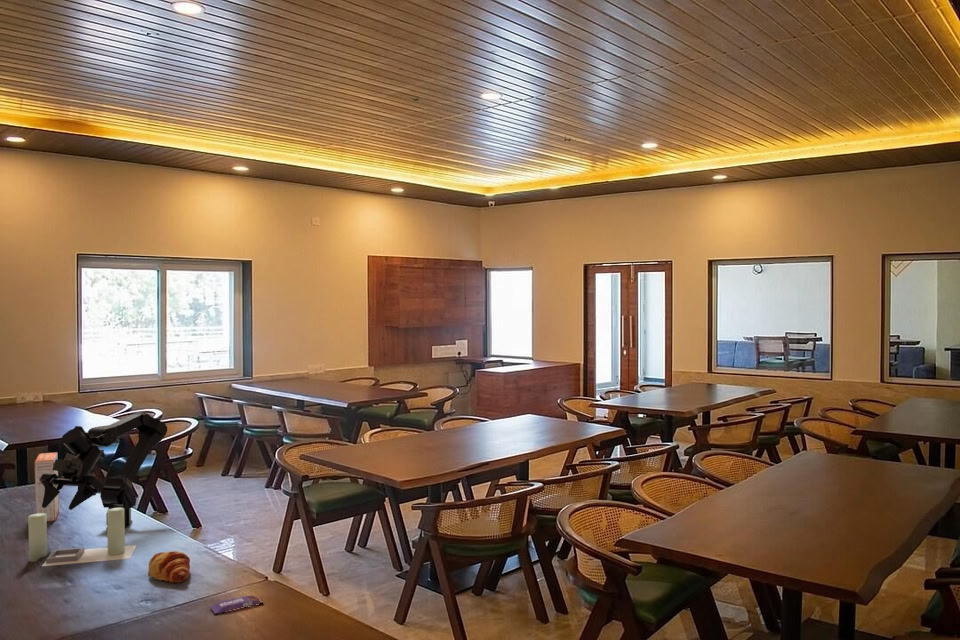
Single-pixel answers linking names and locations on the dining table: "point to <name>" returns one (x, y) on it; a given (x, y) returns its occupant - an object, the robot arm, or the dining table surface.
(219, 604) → the snack package
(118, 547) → the fixed pillar
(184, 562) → the croissant
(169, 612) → the dining table surface
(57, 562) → the base plate
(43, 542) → the pillar
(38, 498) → the cracker box
